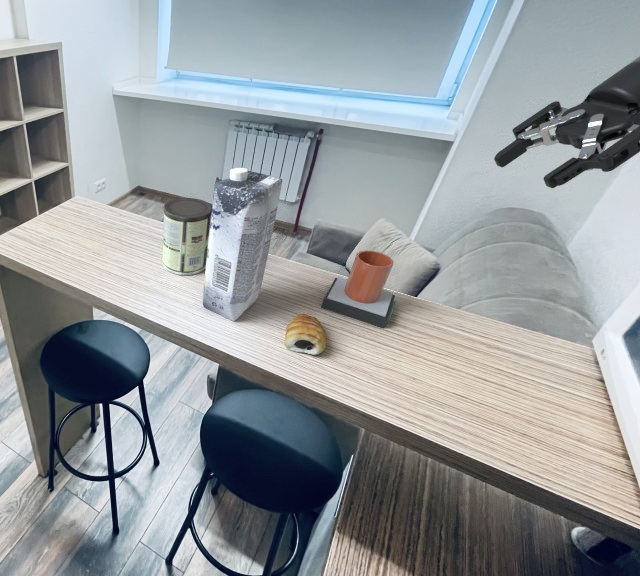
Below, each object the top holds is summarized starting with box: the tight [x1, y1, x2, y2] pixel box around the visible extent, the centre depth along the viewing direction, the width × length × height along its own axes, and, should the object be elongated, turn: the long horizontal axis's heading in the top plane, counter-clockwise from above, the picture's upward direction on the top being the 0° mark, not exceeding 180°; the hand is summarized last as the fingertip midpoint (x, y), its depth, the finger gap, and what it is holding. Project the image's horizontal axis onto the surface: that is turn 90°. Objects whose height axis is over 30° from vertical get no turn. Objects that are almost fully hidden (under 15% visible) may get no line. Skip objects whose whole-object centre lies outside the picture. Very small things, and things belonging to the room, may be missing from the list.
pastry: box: [283, 313, 327, 356], centre depth 72 cm, size 9×7×4 cm
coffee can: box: [161, 197, 213, 276], centre depth 90 cm, size 10×10×14 cm
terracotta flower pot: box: [344, 250, 394, 303], centre depth 76 cm, size 6×6×8 cm
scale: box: [320, 276, 397, 329], centre depth 79 cm, size 11×9×3 cm
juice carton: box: [202, 167, 283, 322], centre depth 73 cm, size 9×10×27 cm
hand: (520, 172), depth 59 cm, fingers open, 8 cm apart
